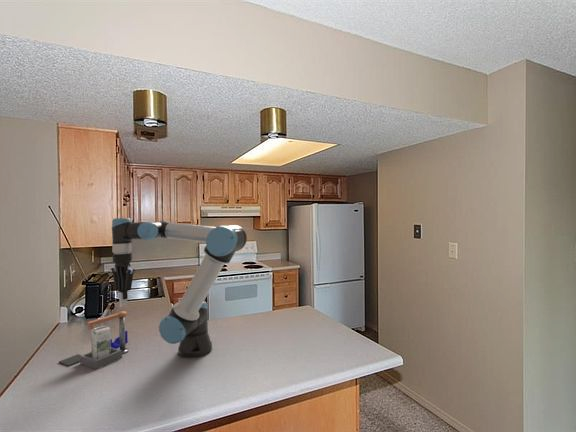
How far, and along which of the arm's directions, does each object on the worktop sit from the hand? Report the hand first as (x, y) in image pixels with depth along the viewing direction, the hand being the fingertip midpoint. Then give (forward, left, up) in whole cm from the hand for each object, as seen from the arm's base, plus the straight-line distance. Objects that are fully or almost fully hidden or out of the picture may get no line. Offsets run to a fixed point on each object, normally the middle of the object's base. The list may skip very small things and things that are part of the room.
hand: (123, 306), depth 138 cm
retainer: (+9, +1, -8) cm, 12 cm away
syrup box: (+9, +5, -24) cm, 26 cm away
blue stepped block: (+18, -7, -24) cm, 31 cm away
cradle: (+9, +5, -24) cm, 26 cm away
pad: (+21, +10, -24) cm, 33 cm away
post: (+9, -5, -24) cm, 26 cm away
